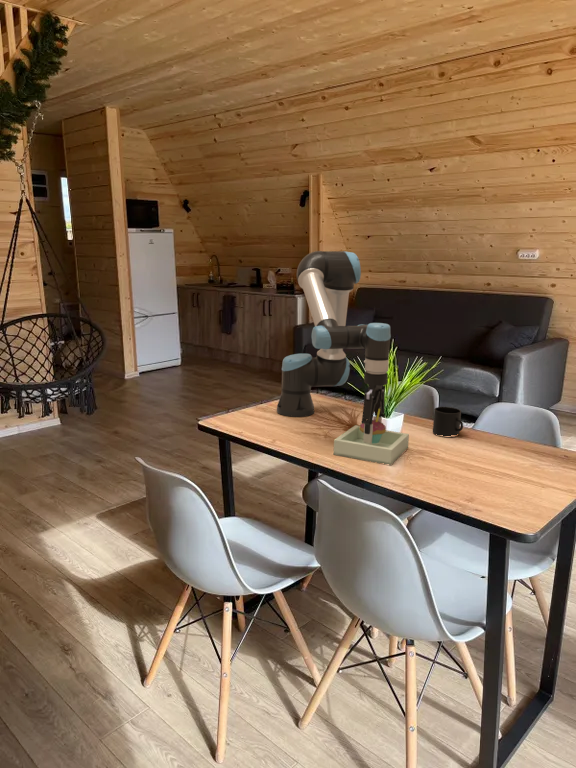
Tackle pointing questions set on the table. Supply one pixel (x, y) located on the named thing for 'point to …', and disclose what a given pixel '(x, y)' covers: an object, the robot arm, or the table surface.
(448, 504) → the table surface
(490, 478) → the table surface
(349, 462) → the table surface
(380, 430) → the cupcake
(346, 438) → the serving bin
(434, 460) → the table surface
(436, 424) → the mug
